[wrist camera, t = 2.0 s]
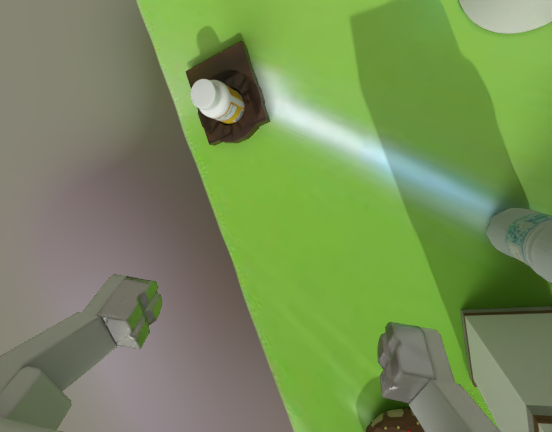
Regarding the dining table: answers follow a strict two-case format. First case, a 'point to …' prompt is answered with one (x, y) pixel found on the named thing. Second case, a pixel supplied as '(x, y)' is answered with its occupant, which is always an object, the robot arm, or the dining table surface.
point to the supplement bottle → (218, 101)
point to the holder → (238, 76)
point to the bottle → (524, 238)
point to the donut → (395, 422)
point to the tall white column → (512, 364)
